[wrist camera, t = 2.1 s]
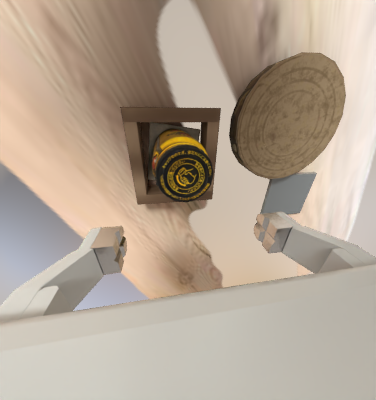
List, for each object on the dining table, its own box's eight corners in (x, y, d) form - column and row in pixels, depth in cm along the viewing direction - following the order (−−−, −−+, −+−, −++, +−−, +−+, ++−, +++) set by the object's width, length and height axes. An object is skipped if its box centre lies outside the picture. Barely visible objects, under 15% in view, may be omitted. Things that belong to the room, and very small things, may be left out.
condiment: (200, 129, 23) (233, 142, 12) (191, 182, 27) (210, 225, 16) (149, 121, 21) (139, 129, 11) (148, 179, 25) (139, 224, 15)
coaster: (271, 174, 28) (273, 175, 28) (314, 172, 30) (316, 173, 29) (259, 214, 33) (261, 216, 32) (297, 211, 34) (299, 212, 34)
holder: (126, 107, 20) (120, 106, 17) (212, 108, 22) (220, 108, 19) (140, 194, 26) (137, 204, 23) (206, 189, 28) (212, 199, 25)
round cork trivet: (323, 31, 20) (348, 19, 17) (326, 144, 28) (343, 148, 25) (213, 100, 22) (220, 98, 19) (245, 188, 29) (253, 195, 27)
